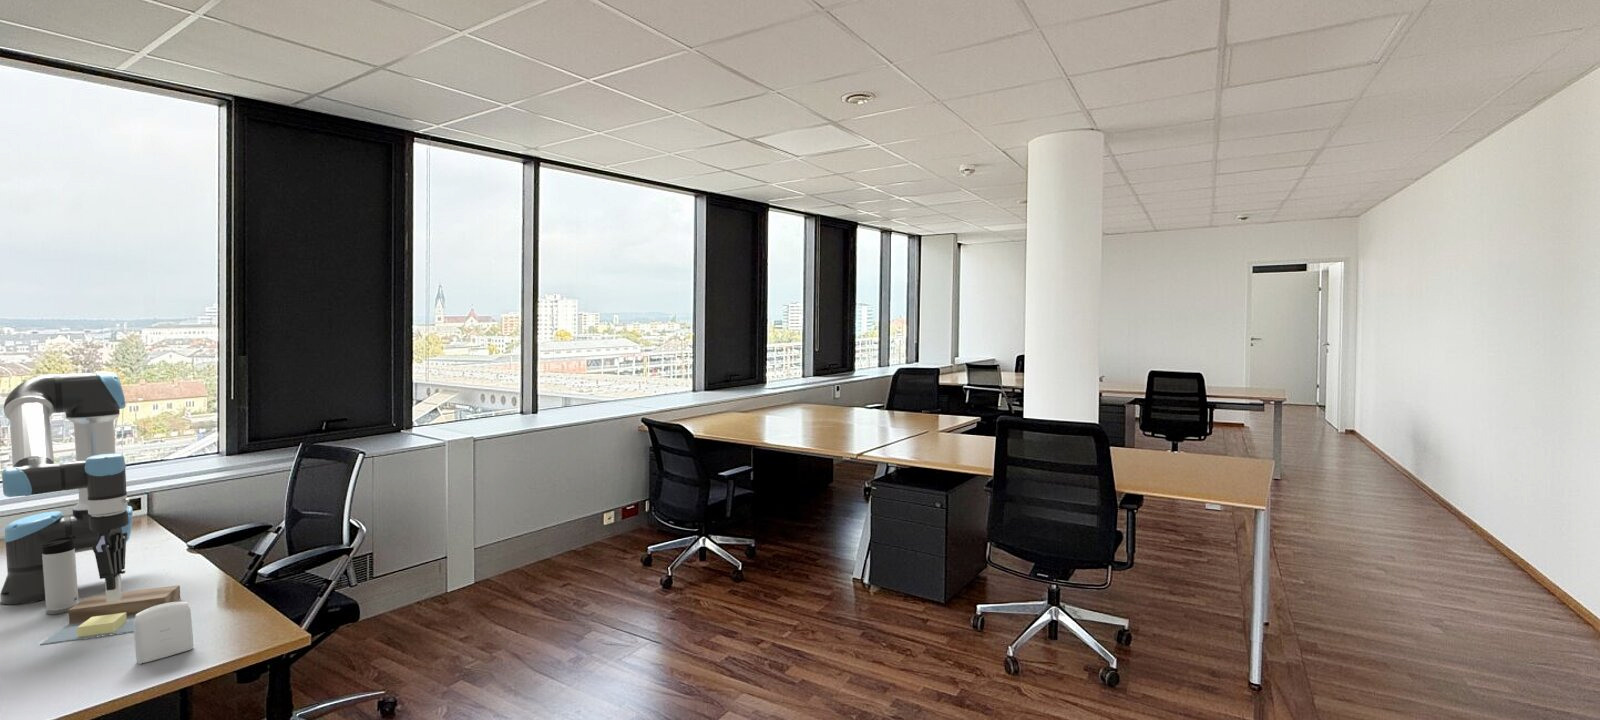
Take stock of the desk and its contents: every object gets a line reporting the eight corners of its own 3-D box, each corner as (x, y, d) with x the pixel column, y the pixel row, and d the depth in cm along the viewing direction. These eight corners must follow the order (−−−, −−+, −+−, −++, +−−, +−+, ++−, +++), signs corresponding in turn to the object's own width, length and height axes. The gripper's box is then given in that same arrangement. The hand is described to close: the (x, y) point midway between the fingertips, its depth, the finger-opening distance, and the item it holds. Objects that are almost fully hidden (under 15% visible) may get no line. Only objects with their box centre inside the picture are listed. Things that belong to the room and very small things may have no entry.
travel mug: (85, 606, 199) (80, 536, 198) (54, 615, 193) (49, 543, 192) (72, 603, 201) (67, 534, 200) (41, 613, 195) (35, 541, 194)
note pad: (77, 627, 179) (77, 637, 179) (113, 622, 181) (113, 632, 181) (91, 616, 185) (92, 626, 185) (126, 612, 188) (126, 621, 188)
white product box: (137, 666, 164) (134, 613, 163) (134, 660, 166) (131, 609, 166) (195, 650, 171) (192, 600, 171) (191, 645, 174) (188, 595, 174)
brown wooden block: (89, 610, 196) (88, 596, 196) (180, 598, 204) (179, 585, 204) (69, 624, 187) (68, 609, 187) (165, 611, 195) (164, 597, 195)
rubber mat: (69, 624, 187) (69, 623, 187) (165, 611, 195) (165, 610, 195) (40, 645, 175) (40, 644, 175) (144, 630, 183) (144, 629, 183)
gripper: (115, 517, 183) (120, 606, 185) (138, 505, 195) (143, 589, 197) (76, 520, 180) (82, 611, 182) (102, 508, 192) (108, 594, 194)
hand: (114, 600), depth 189 cm, fingers closed
